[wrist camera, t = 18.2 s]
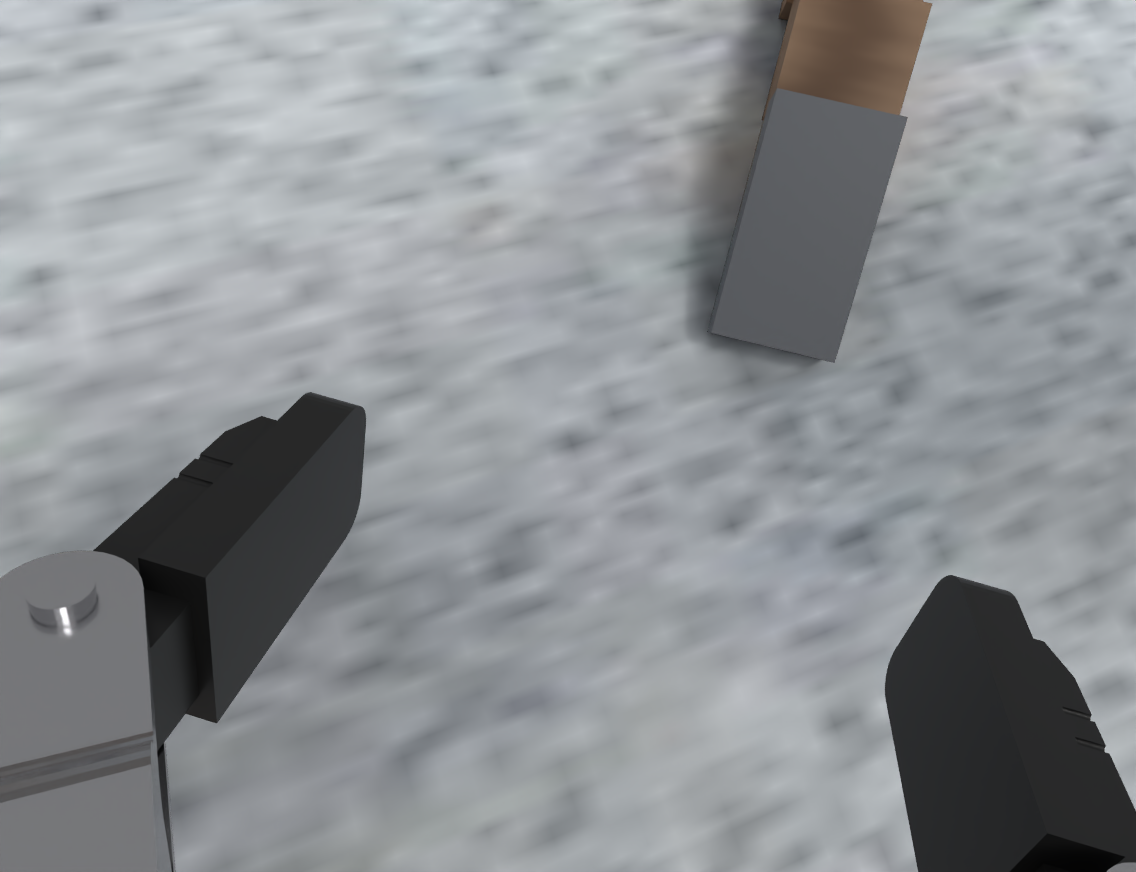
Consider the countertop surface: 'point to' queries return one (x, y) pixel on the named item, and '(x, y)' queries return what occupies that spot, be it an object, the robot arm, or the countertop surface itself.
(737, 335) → the domino
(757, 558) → the countertop surface
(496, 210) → the countertop surface
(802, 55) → the domino
